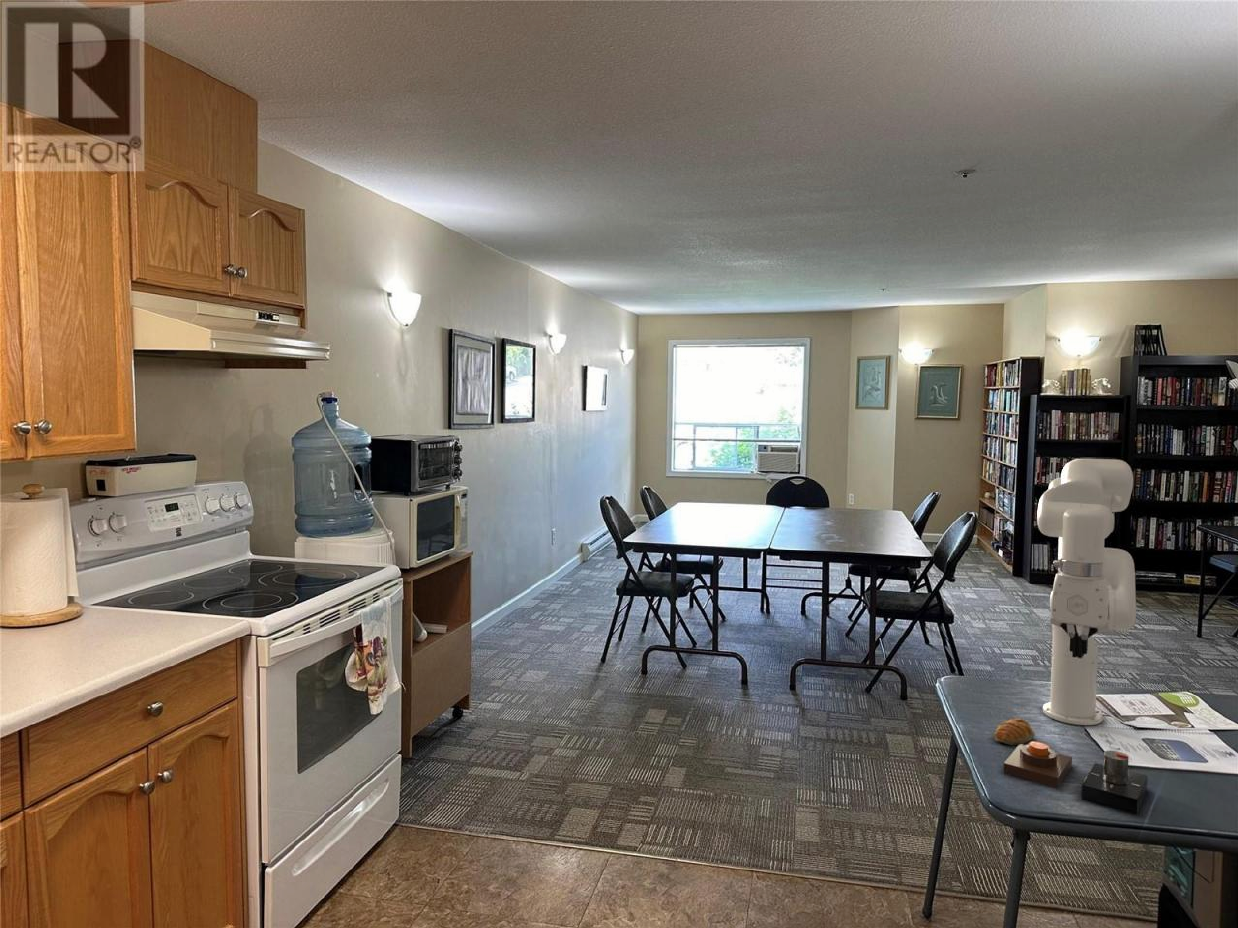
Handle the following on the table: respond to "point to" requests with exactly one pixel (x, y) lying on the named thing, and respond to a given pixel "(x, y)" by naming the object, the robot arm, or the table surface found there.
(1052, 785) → the block
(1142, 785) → the dial panel
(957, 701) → the table surface
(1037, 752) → the button
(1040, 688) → the table surface
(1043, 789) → the table surface
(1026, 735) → the pastry
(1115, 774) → the dial
